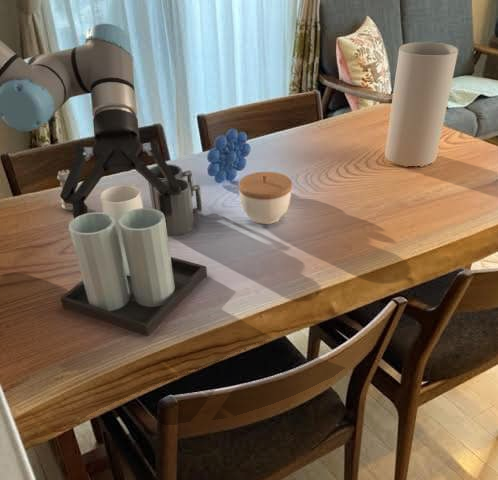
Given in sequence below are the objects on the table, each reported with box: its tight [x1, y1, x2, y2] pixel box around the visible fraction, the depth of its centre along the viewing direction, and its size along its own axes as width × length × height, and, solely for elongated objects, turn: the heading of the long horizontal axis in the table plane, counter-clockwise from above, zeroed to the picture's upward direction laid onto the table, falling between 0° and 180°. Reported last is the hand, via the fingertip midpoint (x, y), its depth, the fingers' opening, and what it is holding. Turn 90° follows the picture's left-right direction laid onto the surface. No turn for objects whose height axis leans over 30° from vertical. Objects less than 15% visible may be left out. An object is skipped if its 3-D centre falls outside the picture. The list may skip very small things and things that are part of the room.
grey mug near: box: [153, 178, 203, 236], centre depth 108 cm, size 10×7×9 cm
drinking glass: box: [99, 184, 144, 276], centre depth 93 cm, size 7×7×15 cm
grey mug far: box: [148, 163, 195, 210], centre depth 114 cm, size 10×7×9 cm
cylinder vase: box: [384, 41, 459, 168], centre depth 126 cm, size 12×12×25 cm
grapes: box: [206, 128, 251, 184], centre depth 124 cm, size 12×7×12 cm, turn 124°
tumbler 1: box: [68, 211, 131, 311], centre depth 87 cm, size 7×7×15 cm
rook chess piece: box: [56, 169, 73, 212], centre depth 116 cm, size 4×4×8 cm
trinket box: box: [238, 171, 293, 225], centre depth 110 cm, size 11×11×9 cm
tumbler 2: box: [119, 207, 175, 307], centre depth 87 cm, size 7×7×15 cm
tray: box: [59, 256, 208, 337], centre depth 93 cm, size 17×18×2 cm
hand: (125, 238), depth 91 cm, fingers open, 13 cm apart
